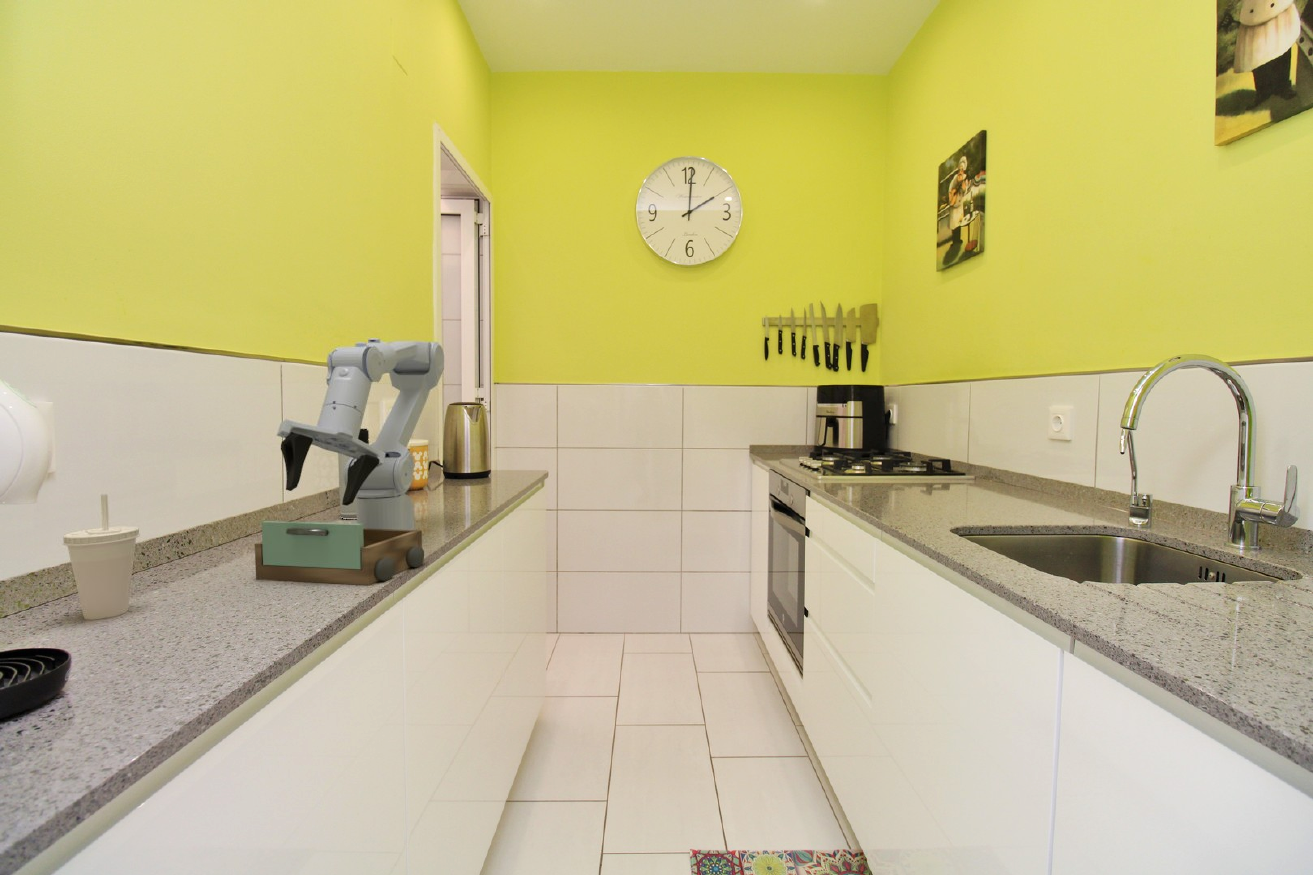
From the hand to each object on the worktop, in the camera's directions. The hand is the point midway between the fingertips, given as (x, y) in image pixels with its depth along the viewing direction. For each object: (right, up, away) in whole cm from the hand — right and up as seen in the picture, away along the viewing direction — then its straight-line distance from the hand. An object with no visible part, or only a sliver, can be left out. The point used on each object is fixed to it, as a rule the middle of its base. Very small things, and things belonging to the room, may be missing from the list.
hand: (320, 496), depth 81 cm
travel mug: (-20, -10, +48) cm, 53 cm away
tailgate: (0, -9, -3) cm, 10 cm away
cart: (+2, -11, +3) cm, 12 cm away
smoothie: (-16, -12, -15) cm, 25 cm away
